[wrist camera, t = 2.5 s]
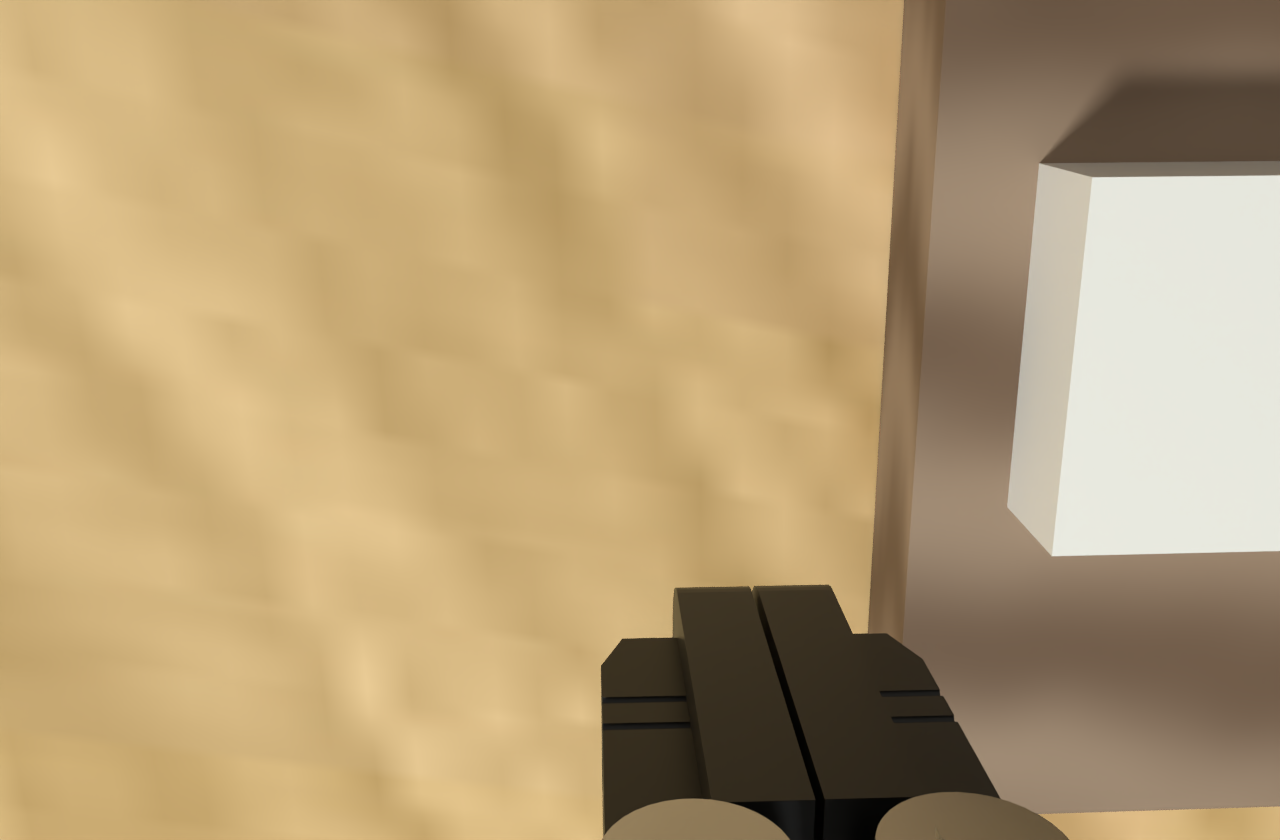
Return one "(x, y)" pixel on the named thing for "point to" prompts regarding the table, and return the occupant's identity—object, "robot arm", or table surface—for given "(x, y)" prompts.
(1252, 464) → the white flat block
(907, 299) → the deck
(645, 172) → the table surface
